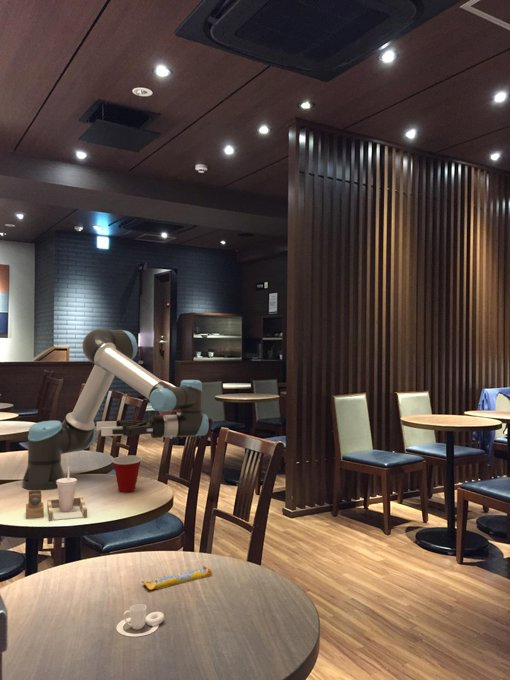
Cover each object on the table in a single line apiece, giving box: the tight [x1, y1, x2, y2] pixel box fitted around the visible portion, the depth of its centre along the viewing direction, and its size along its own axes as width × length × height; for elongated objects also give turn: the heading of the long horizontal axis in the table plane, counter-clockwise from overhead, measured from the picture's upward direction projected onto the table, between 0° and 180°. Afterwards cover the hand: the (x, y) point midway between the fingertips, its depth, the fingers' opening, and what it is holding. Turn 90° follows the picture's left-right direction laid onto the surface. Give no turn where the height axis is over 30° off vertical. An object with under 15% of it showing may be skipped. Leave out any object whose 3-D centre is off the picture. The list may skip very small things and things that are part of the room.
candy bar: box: [141, 565, 214, 591], centre depth 132 cm, size 17×4×2 cm, turn 125°
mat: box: [53, 511, 83, 521], centre depth 178 cm, size 6×8×1 cm
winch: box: [25, 490, 45, 520], centre depth 179 cm, size 6×5×7 cm
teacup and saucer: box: [115, 603, 165, 638], centre depth 110 cm, size 9×8×4 cm
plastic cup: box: [111, 455, 143, 494], centre depth 210 cm, size 11×11×12 cm
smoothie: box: [56, 466, 78, 513], centre depth 185 cm, size 6×6×14 cm
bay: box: [46, 496, 88, 522], centre depth 182 cm, size 15×11×2 cm
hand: (98, 428), depth 188 cm, fingers open, 13 cm apart
